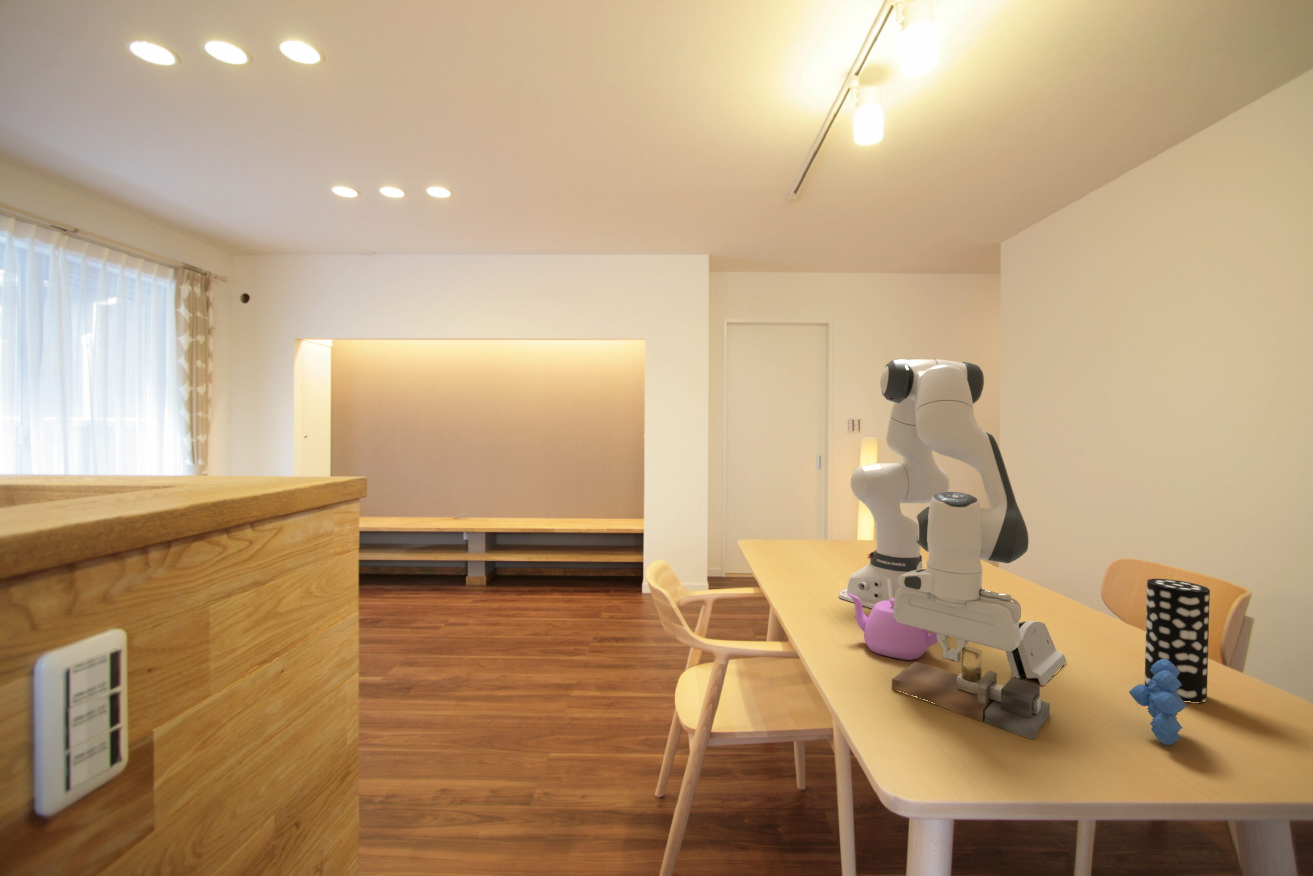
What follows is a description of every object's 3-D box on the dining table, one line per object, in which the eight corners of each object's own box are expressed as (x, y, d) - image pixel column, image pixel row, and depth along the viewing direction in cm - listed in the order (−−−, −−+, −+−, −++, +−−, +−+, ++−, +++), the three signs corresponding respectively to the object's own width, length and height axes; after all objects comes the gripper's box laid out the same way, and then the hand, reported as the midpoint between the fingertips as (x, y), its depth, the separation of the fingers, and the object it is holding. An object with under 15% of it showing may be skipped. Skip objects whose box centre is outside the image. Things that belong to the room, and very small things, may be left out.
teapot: (854, 629, 131) (854, 584, 130) (947, 649, 119) (948, 599, 119) (837, 648, 120) (838, 598, 119) (938, 672, 108) (939, 616, 108)
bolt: (955, 688, 96) (956, 649, 96) (961, 683, 98) (962, 645, 98) (1036, 715, 87) (1037, 672, 87) (1041, 708, 90) (1042, 666, 89)
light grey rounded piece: (1043, 686, 102) (1023, 631, 105) (1015, 686, 106) (997, 633, 108) (1067, 662, 113) (1049, 613, 115) (1042, 663, 116) (1024, 615, 119)
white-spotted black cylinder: (1134, 686, 102) (1137, 581, 102) (1159, 678, 106) (1161, 576, 105) (1192, 707, 95) (1195, 593, 94) (1216, 698, 98) (1219, 588, 98)
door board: (891, 689, 100) (892, 660, 100) (915, 671, 108) (916, 644, 108) (1033, 739, 84) (1033, 705, 84) (1049, 714, 92) (1050, 683, 92)
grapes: (1127, 713, 93) (1128, 644, 92) (1182, 728, 88) (1184, 654, 88) (1128, 743, 84) (1130, 666, 83) (1189, 761, 79) (1192, 680, 79)
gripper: (1026, 593, 92) (1024, 674, 92) (904, 569, 107) (902, 639, 107) (1016, 601, 88) (1014, 685, 88) (890, 575, 103) (888, 647, 103)
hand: (952, 659), depth 98 cm, fingers closed
